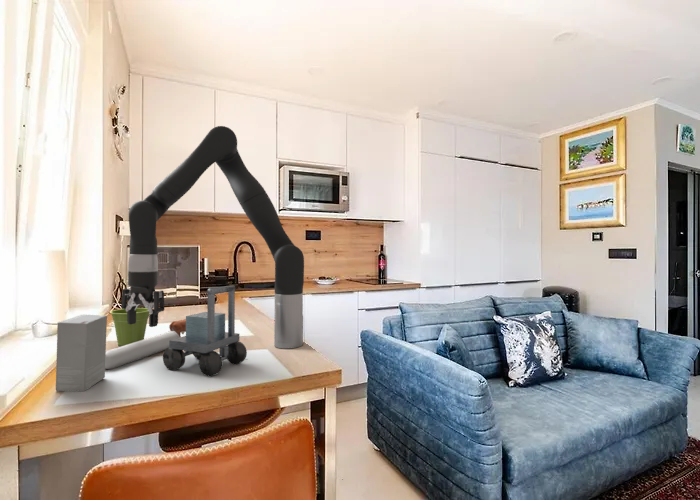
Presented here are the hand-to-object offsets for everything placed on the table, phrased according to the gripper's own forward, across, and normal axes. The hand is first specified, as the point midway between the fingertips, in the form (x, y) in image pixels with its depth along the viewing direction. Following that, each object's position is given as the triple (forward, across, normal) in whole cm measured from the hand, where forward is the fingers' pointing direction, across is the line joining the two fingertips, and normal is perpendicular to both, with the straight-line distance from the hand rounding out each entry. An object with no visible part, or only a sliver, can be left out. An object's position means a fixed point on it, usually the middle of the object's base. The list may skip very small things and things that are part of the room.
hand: (142, 325), depth 106 cm
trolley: (+9, -23, 0) cm, 25 cm away
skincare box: (+10, -6, +21) cm, 24 cm away
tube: (+10, 0, 0) cm, 10 cm away
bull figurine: (+10, +4, -21) cm, 23 cm away
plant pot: (+10, +16, -9) cm, 21 cm away
